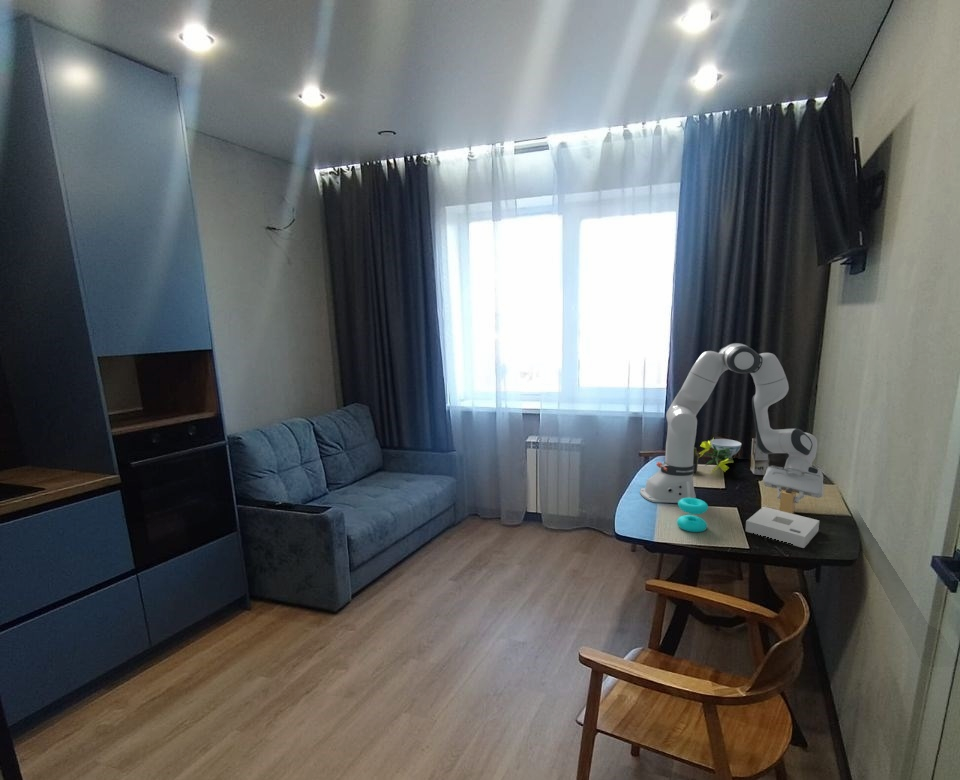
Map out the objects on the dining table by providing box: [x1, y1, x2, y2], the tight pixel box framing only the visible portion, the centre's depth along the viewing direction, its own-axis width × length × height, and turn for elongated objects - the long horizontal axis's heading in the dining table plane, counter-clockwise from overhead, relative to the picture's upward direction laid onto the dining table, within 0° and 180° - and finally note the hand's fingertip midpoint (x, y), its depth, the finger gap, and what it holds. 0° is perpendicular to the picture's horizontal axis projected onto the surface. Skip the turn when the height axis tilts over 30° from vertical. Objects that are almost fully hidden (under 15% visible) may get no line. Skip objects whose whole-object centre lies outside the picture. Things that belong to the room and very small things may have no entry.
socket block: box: [745, 506, 820, 549], centre depth 174 cm, size 18×18×4 cm
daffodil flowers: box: [698, 437, 734, 475], centre depth 242 cm, size 17×15×35 cm
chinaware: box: [709, 438, 742, 459], centre depth 263 cm, size 15×15×8 cm
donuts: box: [676, 497, 709, 533], centre depth 178 cm, size 10×10×10 cm
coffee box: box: [749, 437, 771, 476], centre depth 236 cm, size 9×6×16 cm
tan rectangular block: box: [779, 488, 797, 514], centre depth 190 cm, size 4×4×10 cm
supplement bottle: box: [693, 446, 699, 474], centre depth 239 cm, size 7×7×12 cm
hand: (787, 500), depth 189 cm, fingers closed on tan rectangular block, 4 cm apart
